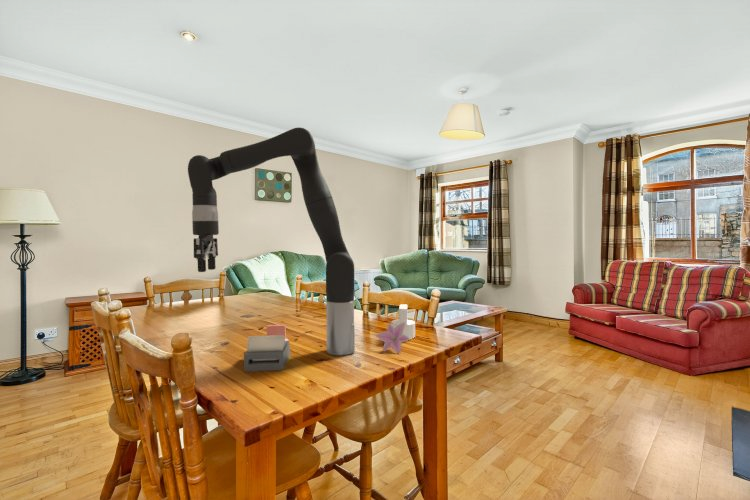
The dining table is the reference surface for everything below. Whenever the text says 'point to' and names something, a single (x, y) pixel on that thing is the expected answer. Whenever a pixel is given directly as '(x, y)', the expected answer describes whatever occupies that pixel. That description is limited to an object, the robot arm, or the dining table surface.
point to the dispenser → (266, 353)
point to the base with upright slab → (409, 324)
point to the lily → (393, 337)
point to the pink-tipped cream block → (274, 331)
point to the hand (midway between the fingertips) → (207, 270)
